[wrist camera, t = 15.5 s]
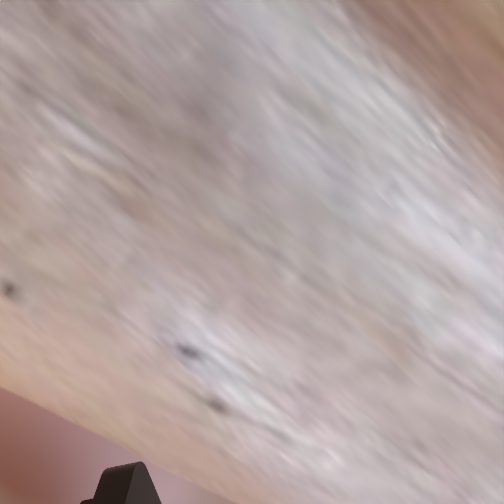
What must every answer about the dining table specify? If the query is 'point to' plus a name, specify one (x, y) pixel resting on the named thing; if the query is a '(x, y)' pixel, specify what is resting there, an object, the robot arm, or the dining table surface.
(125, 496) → the robot arm
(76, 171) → the dining table surface
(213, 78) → the dining table surface
